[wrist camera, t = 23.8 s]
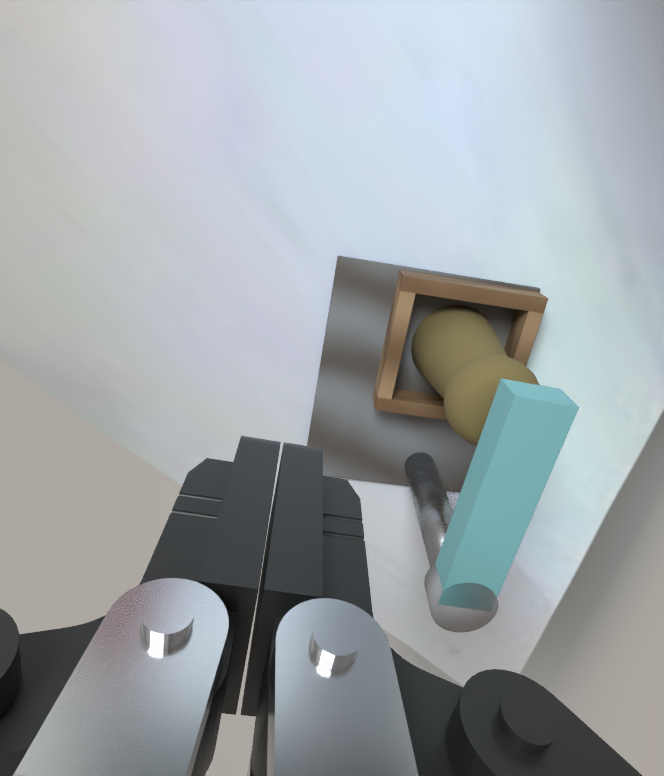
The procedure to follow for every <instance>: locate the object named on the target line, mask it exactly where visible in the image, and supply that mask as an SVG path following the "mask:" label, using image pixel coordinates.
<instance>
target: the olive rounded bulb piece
mask: <svg viewBox="0 0 664 776" xmlns="http://www.w3.org/2000/svg"><path fill="white" fill-rule="evenodd" d="M411 353H412V358H413V362H414V364H415V366H416V367H417V369H418V371H419V372H420V373H421V375H422V376H423V377H424V378H425V379H426V380H427V381H428V382H429V383H430V384H431V385H432V386H433V388H434V389H435V390H436V391H437V392H438V393H439V394H440V395H441V396H442V397H443V398H444V409H445V414H446V418H447V420H448V422H449V423H450V425H451V427H452V428H453V430H454V432H455V433H457V434H458V435H459V436H460V437H462V438H463V439H464V440H466V441H467V442H468V443H470V444H473V445H476V446H477V444H478V442H479V439H480V436H481V433H482V430H483V427H484V425H485V422H486V419H487V416H488V413H489V411H490V408H491V405H492V402H493V399H494V396H495V394H496V391H497V388H498V385H499V382H500V379H501V378H502V379H507V380H513V381H518V382H524V383H529V384H535V385H539V383H538V381H537V379H536V377H535V375H534V374H533V373H532V372H531V371H530V370H529V369H528V368H527V367H526V366H524V365H523V364H522V363H521V362H520V361H517V360H515V359H512V358H510V357H508V356H507V354H506V352H505V350H504V348H503V346H502V345H501V343H500V341H499V339H498V337H497V335H496V333H495V331H494V329H493V327H492V325H491V323H490V321H489V319H488V318H487V317H486V316H484V315H483V314H482V313H481V312H480V311H479V310H476V309H474V308H471V307H469V306H464V305H451V306H447V307H443V308H439V309H438V310H436V311H434V312H432V313H431V314H429V315H428V316H427V317H426V318H425V319H424V320H423V321H422V322H421V323H420V324H419V325H418V327H417V329H416V331H415V333H414V335H413V338H412V345H411Z"/></svg>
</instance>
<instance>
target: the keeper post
mask: <svg viewBox="0 0 664 776" xmlns="http://www.w3.org/2000/svg"><path fill="white" fill-rule="evenodd" d="M404 468H405V472H406V476H407V480H408V484H409V487H410V491H411V495H412V499H413V502H414V506H415V510H416V514H417V518H418V521H419V525H420V529H421V533H422V537H423V540H424V544H425V548H426V552H427V555H428V559H429V563H430V567H432V566H433V565H434V564H435V563H436V560H437V557H438V555H439V552H440V549H441V546H442V543H443V540H444V538H445V535H446V532H447V529H448V526H449V523H450V521H451V518H452V515H453V511H452V508H451V505H450V502H449V500H448V497H447V494H446V492H445V489H444V486H443V484H442V481H441V478H440V475H439V473H438V470H437V467H436V465H435V462H434V459H433V458H432V457H431V456H430V455H429V454H427V453H423V452H419V453H414V454H412V455H411V456H409V457H408V458H407V460H406V461H405V465H404Z"/></svg>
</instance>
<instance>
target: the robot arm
mask: <svg viewBox="0 0 664 776" xmlns="http://www.w3.org/2000/svg"><path fill="white" fill-rule="evenodd" d="M279 449H280V442H277V441H270V440H264V439H258V438H252V437H245V436H241V439H240V442H239V445H238V449H237V452H236V455H235V459H234V462H228V461H222V460H215V459H209V458H207V459H205V460H204V461H203V462H201V463H200V464H199V465H198V466H196V467H195V468H194V469H192V470H191V471H190V472H188V474H187V476H186V479H185V481H184V483H183V486H182V488H181V490H180V494H179V496H178V497H177V500H176V502H175V505H174V507H173V509H172V513H171V514H170V516H169V518H168V521H167V523H166V525H165V528H164V530H163V532H162V535H161V537H160V539H159V542H158V544H157V546H156V549H155V551H154V553H153V555H152V558H151V561H150V562H149V565H148V567H147V569H146V572H145V574H144V576H143V579H142V581H141V583H140V585H138V586H136V587H135V588H133V589H131V590H129V591H128V592H126V593H125V594H124V595H122V596H121V597H120V598H119V599H118V600H117V601H116V602H115V603H114V604H113V605H112V607H111V608H110V610H109V611H108V612H107V614H106V615H105V616H103V617H101V618H99V619H96V620H94V621H91V622H88V623H85V624H82V625H77V626H72V627H67V628H61V629H54V630H47V631H40V632H33V633H26V634H20V635H19V632H18V628H17V625H16V623H15V622H14V620H13V618H12V617H11V616H10V615H9V614H8V613H6V612H5V611H4V610H2V609H0V776H205V774H206V771H207V770H208V768H209V766H210V764H211V761H212V759H213V755H214V751H215V746H216V741H217V735H218V730H219V724H220V719H221V713H226V714H236V710H237V705H238V700H239V694H240V688H241V682H242V677H243V672H244V666H245V661H246V655H247V650H248V644H249V638H250V633H251V627H252V622H253V616H254V611H255V605H256V599H257V594H258V589H259V595H258V602H257V608H256V615H255V623H254V629H253V635H252V642H251V649H250V657H249V662H248V669H247V676H246V682H245V689H244V696H243V703H242V710H241V715H248V716H256V721H255V730H254V738H253V746H252V753H251V758H250V763H249V768H248V773H247V776H642V775H641V774H640V773H639V772H638V771H637V770H636V769H634V768H633V767H632V766H631V765H630V764H629V763H628V762H626V761H625V760H624V759H623V758H622V757H621V756H620V755H619V754H618V753H617V752H616V751H615V750H613V749H612V748H611V747H610V746H609V745H608V744H607V743H606V742H605V741H603V740H602V739H601V738H600V737H599V736H598V735H597V734H596V733H594V732H593V731H592V730H591V729H590V728H589V727H588V726H587V725H586V724H585V723H584V722H583V721H581V720H580V719H579V718H578V717H577V716H576V715H575V714H574V713H573V712H571V711H570V710H569V709H568V708H567V707H566V706H565V705H564V704H563V703H562V702H560V701H559V700H558V699H557V698H556V697H555V696H554V695H553V694H551V693H550V692H549V691H548V690H546V689H545V688H544V687H542V686H541V685H539V684H538V683H536V682H535V681H533V680H531V679H529V678H527V677H525V676H523V675H520V674H518V673H515V672H511V671H507V670H498V669H493V670H485V671H482V672H479V673H477V674H476V675H474V676H472V677H471V678H470V679H469V680H468V681H467V682H466V684H465V686H464V688H463V687H460V686H458V685H456V684H453V683H451V682H449V681H447V680H444V679H442V678H440V677H437V676H435V675H433V674H430V673H428V672H426V671H424V670H421V669H419V668H418V667H416V666H414V665H412V664H410V663H409V662H407V661H406V660H405V659H403V658H402V657H401V656H399V655H398V654H397V653H396V652H395V651H394V650H393V649H392V648H391V647H390V645H389V642H388V639H387V637H386V635H385V633H384V631H383V629H382V628H381V627H380V625H379V624H378V623H377V622H376V621H375V620H374V617H373V612H372V604H371V595H370V586H369V577H368V568H367V558H366V549H365V541H364V531H363V523H362V512H361V503H360V498H359V497H358V495H357V494H356V492H355V491H354V489H353V488H352V486H351V485H350V484H349V482H348V481H347V480H345V479H339V478H332V477H326V476H323V449H321V448H315V447H309V446H303V445H296V444H290V443H284V445H283V450H282V455H281V461H280V467H279V472H278V478H277V483H276V489H275V494H274V500H273V506H272V511H271V517H270V523H269V529H268V522H269V516H270V509H271V502H272V496H273V489H274V482H275V476H276V469H277V463H278V456H279ZM267 529H268V535H267ZM266 535H267V541H266ZM265 542H266V548H265ZM264 549H265V554H264ZM263 555H264V562H263V568H262V561H263ZM261 568H262V575H261ZM260 575H261V581H260ZM259 582H260V588H259Z"/></svg>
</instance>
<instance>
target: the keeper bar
mask: <svg viewBox="0 0 664 776" xmlns="http://www.w3.org/2000/svg"><path fill="white" fill-rule="evenodd" d="M578 408H579V407H578V406H577V405H576V404H575V403H574V402H573V401H572V400H571V399H570V398H569V397H568V396H567V395H566V394H565V393H564V392H563V391H562V390H561V389H557V388H551V387H546V386H540V385H535V384H529V383H524V382H518V381H513V380H507V379H502V378H501V379H500V382H499V385H498V388H497V391H496V394H495V396H494V399H493V402H492V405H491V408H490V411H489V413H488V416H487V419H486V422H485V425H484V427H483V430H482V433H481V436H480V439H479V442H478V444H477V447H476V450H475V453H474V456H473V459H472V461H471V464H470V467H469V470H468V473H467V475H466V478H465V481H464V484H463V487H462V490H461V492H460V495H459V498H458V501H457V504H456V507H455V509H454V512H453V515H452V518H451V521H450V523H449V526H448V529H447V532H446V535H445V538H444V540H443V543H442V546H441V549H440V552H439V555H438V557H437V560H436V563H435V564H434V565H433V566H432V567H431V568H430V569H429V570H428V572H427V574H426V576H425V582H424V583H425V589H426V593H427V597H428V601H429V606H430V610H431V614H432V617H433V619H434V621H435V622H436V623H437V624H438V625H439V626H440V627H442V628H444V629H446V630H449V631H453V632H469V631H473V630H476V629H479V628H481V627H483V626H484V625H486V624H487V623H488V622H490V621H491V620H492V619H493V617H494V616H495V614H496V612H497V609H498V600H497V597H498V594H499V592H500V590H501V587H502V585H503V583H504V580H505V578H506V576H507V574H508V571H509V569H510V567H511V564H512V562H513V560H514V557H515V555H516V553H517V550H518V548H519V546H520V543H521V541H522V539H523V536H524V534H525V532H526V529H527V527H528V525H529V522H530V520H531V518H532V515H533V513H534V511H535V508H536V506H537V504H538V501H539V499H540V497H541V494H542V492H543V490H544V488H545V485H546V483H547V481H548V478H549V476H550V474H551V471H552V469H553V467H554V464H555V462H556V460H557V457H558V455H559V453H560V450H561V448H562V446H563V443H564V441H565V439H566V436H567V434H568V432H569V429H570V427H571V425H572V422H573V420H574V418H575V415H576V413H577V411H578Z"/></svg>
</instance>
